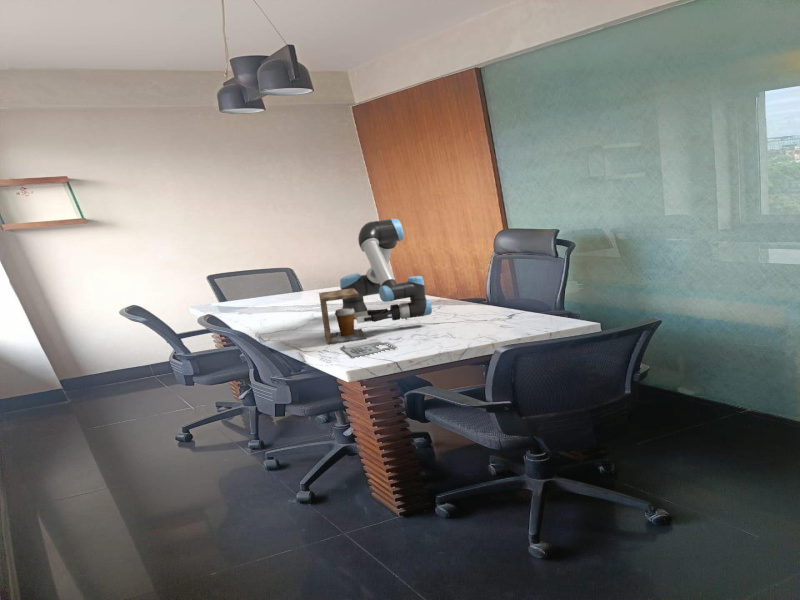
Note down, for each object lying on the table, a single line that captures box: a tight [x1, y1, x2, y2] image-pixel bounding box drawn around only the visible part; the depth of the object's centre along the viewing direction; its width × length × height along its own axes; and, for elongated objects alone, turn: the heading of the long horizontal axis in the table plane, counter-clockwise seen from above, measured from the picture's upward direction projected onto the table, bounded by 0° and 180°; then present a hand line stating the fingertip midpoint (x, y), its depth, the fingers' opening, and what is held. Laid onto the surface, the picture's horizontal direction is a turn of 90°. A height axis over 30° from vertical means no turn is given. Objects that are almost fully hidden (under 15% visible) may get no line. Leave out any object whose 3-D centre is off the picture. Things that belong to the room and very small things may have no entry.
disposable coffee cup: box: [334, 308, 355, 336], centre depth 322 cm, size 10×10×12 cm
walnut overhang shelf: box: [318, 288, 368, 346], centre depth 319 cm, size 18×22×22 cm
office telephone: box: [339, 338, 398, 359], centre depth 291 cm, size 23×3×20 cm
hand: (355, 318), depth 320 cm, fingers open, 13 cm apart
